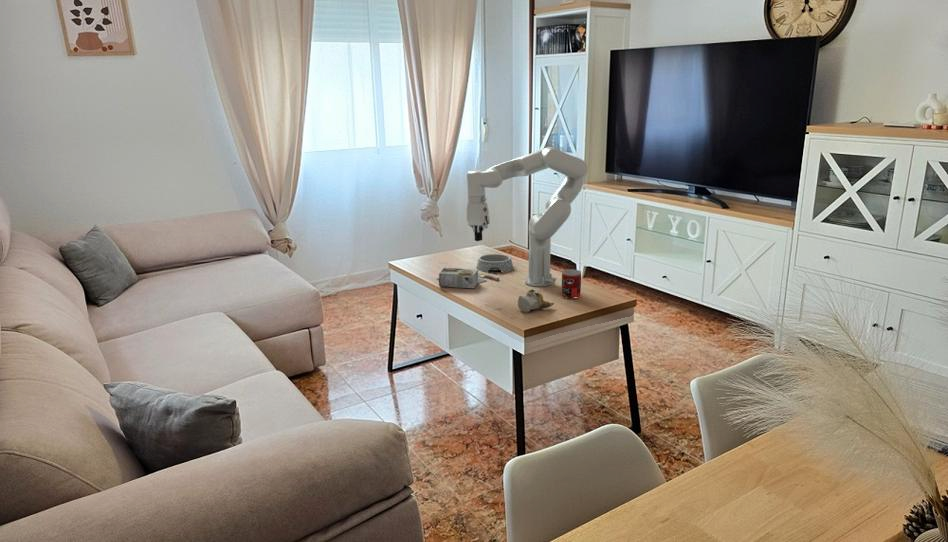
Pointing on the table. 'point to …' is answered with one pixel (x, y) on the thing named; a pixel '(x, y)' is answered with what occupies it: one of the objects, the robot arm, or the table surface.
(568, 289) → the canned food
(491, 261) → the dog bowl
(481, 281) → the mat
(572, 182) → the robot arm
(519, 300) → the ceramic sculpture
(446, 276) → the coffee box
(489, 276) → the turner
